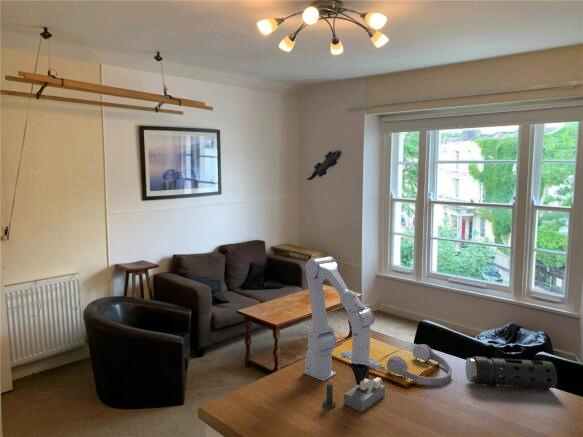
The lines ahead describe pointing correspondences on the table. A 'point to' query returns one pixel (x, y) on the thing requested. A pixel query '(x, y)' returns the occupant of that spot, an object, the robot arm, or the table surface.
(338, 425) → the table surface
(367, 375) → the cord stand
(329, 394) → the post
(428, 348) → the headphones
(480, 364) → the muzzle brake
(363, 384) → the block
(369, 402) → the block
